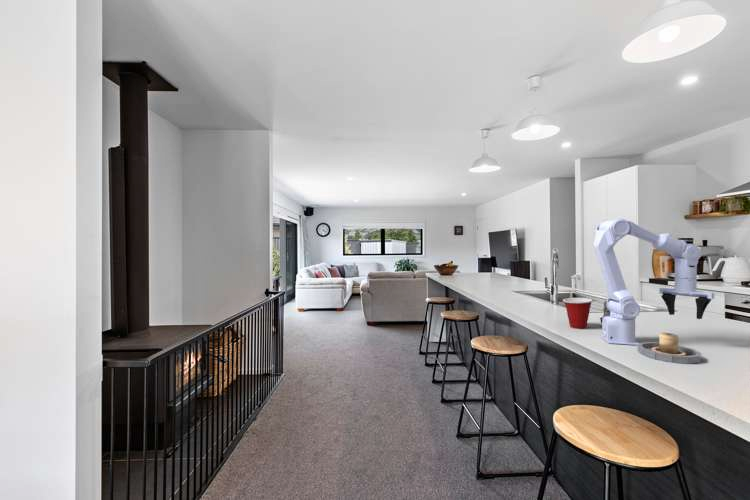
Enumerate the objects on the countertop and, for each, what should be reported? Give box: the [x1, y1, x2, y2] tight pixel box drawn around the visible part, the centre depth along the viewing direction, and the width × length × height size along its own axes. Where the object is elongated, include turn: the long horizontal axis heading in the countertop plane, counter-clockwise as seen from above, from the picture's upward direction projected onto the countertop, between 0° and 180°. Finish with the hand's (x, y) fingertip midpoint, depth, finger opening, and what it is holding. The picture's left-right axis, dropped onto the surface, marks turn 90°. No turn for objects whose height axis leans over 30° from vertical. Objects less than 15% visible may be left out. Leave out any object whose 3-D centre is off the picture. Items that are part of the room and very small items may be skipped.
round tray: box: [637, 341, 702, 365], centre depth 107 cm, size 15×15×2 cm
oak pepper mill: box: [658, 332, 679, 354], centre depth 107 cm, size 4×4×6 cm
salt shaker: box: [599, 300, 610, 329], centre depth 142 cm, size 6×6×12 cm
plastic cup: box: [562, 297, 593, 330], centre depth 143 cm, size 11×11×12 cm
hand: (685, 316), depth 119 cm, fingers open, 7 cm apart
